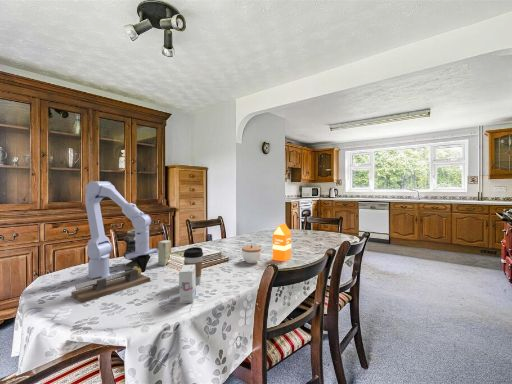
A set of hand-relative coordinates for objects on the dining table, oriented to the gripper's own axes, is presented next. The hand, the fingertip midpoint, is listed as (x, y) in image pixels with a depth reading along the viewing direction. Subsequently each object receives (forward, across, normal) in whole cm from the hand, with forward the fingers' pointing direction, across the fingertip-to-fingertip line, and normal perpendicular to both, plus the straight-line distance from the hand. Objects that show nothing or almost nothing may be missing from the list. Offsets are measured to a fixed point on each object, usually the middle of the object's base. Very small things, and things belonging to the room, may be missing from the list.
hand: (142, 271), depth 121 cm
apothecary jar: (+4, +10, +23) cm, 25 cm away
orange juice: (+4, +68, -32) cm, 75 cm away
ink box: (+4, 0, -32) cm, 32 cm away
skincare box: (+4, +20, +12) cm, 23 cm away
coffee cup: (+4, +11, -22) cm, 25 cm away
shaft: (+1, -14, 0) cm, 14 cm away
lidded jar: (+4, +52, -22) cm, 56 cm away
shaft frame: (+3, -13, 0) cm, 13 cm away
